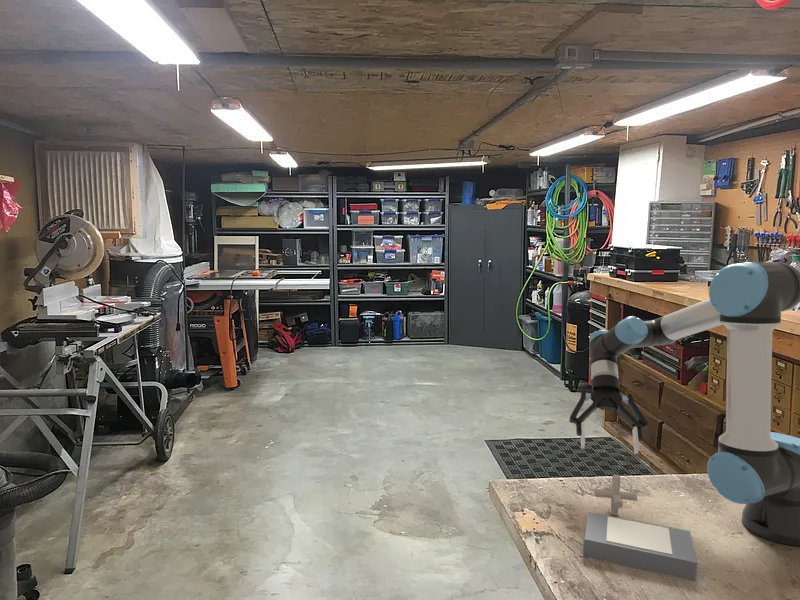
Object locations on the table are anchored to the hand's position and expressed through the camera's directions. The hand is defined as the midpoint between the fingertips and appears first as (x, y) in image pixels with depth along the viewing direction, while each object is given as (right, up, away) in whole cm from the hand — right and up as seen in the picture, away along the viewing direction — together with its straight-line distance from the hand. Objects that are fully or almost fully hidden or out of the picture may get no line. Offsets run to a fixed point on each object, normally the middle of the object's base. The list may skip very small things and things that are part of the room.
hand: (609, 449), depth 147 cm
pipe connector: (-2, -15, -7) cm, 16 cm away
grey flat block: (-3, -16, -24) cm, 29 cm away
